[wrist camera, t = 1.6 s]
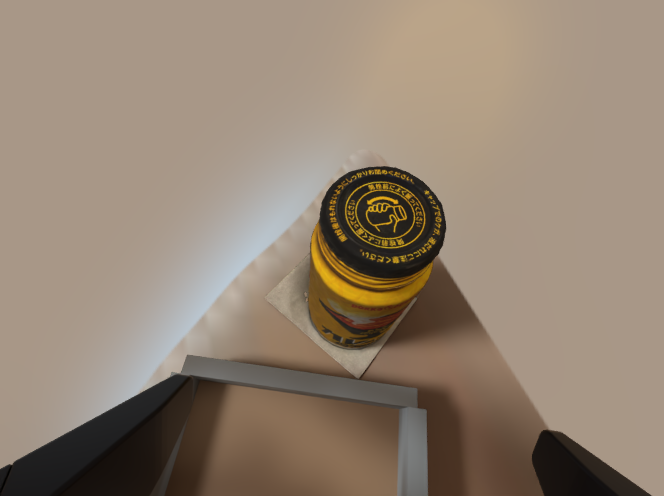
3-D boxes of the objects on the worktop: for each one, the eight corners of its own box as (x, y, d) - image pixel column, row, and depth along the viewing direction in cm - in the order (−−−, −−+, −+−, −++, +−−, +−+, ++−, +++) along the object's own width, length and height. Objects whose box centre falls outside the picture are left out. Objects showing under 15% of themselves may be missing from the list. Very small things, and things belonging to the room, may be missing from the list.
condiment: (358, 379, 21) (409, 328, 11) (264, 298, 23) (232, 191, 13) (416, 299, 24) (501, 198, 14) (329, 234, 26) (345, 105, 16)
